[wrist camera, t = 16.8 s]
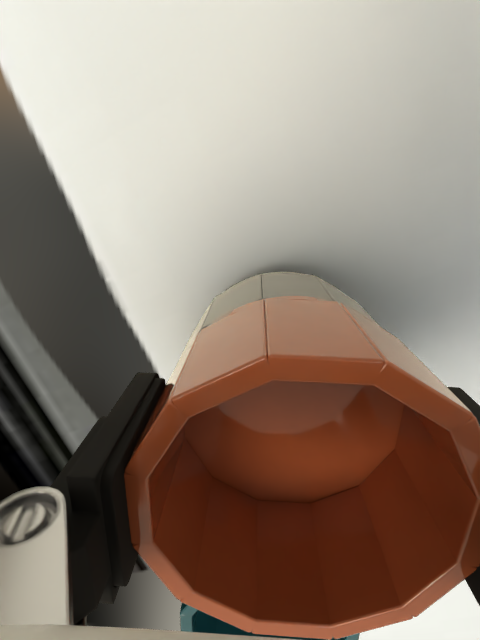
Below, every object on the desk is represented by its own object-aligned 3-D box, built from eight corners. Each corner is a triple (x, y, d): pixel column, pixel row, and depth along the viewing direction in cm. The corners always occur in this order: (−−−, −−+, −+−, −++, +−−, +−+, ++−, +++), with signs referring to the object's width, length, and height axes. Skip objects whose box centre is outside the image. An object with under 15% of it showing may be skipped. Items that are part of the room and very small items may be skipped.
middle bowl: (178, 277, 11) (107, 347, 6) (412, 285, 11) (555, 368, 5) (184, 461, 13) (138, 626, 8) (374, 472, 13) (450, 650, 8)
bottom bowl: (197, 260, 14) (164, 294, 9) (371, 266, 14) (435, 305, 9) (199, 407, 17) (174, 498, 12) (348, 415, 17) (388, 511, 12)
